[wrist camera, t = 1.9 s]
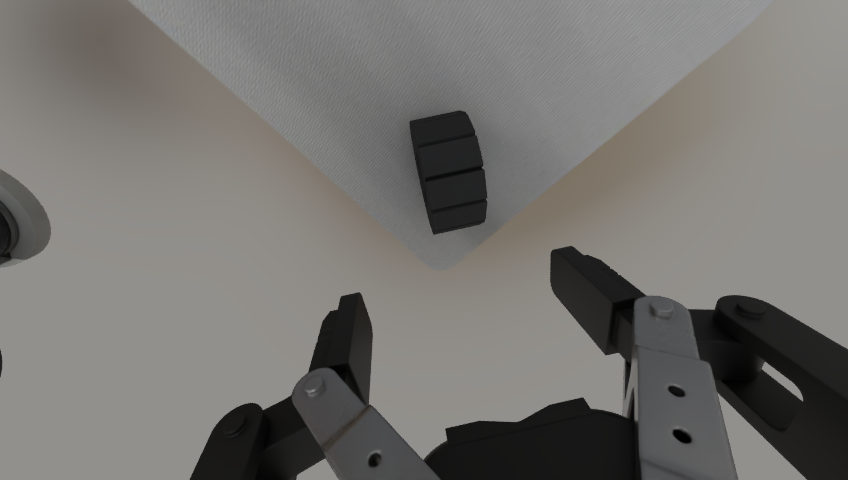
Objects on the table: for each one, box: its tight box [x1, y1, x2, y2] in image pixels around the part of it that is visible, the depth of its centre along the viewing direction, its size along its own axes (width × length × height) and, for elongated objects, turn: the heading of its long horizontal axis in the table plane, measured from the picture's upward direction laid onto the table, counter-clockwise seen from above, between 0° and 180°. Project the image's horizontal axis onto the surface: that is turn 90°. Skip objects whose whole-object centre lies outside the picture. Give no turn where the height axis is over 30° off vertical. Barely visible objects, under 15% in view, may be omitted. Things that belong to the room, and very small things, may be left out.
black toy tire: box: [410, 111, 487, 234], centre depth 27 cm, size 4×10×10 cm, turn 11°
